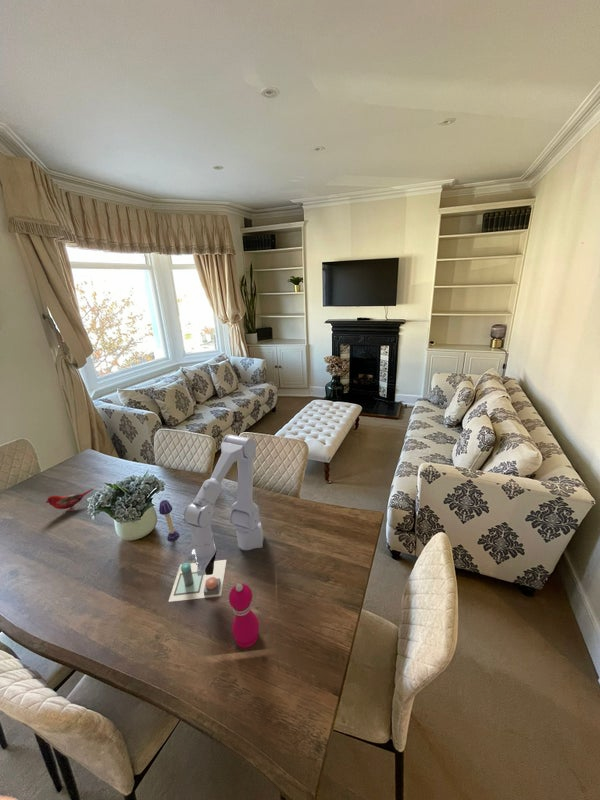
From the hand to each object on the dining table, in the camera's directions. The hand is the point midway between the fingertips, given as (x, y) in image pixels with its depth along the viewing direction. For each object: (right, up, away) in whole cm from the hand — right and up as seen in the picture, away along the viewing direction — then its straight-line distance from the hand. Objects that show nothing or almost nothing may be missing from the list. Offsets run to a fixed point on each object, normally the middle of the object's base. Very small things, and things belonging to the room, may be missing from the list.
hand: (209, 572), depth 101 cm
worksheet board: (-5, -6, +6) cm, 10 cm away
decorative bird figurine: (-73, +5, +45) cm, 86 cm away
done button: (0, -6, +2) cm, 6 cm away
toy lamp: (-22, 0, +26) cm, 34 cm away
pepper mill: (+14, -12, -12) cm, 21 cm away
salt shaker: (-8, -6, +5) cm, 11 cm away
